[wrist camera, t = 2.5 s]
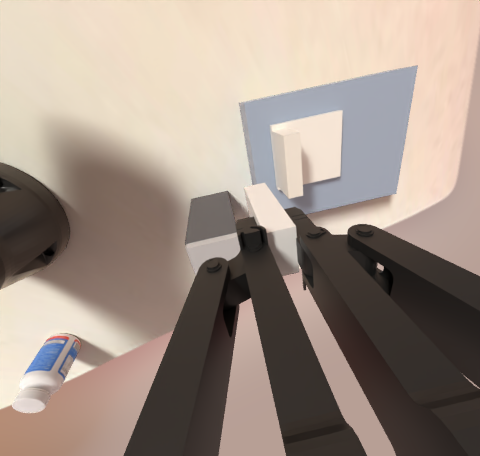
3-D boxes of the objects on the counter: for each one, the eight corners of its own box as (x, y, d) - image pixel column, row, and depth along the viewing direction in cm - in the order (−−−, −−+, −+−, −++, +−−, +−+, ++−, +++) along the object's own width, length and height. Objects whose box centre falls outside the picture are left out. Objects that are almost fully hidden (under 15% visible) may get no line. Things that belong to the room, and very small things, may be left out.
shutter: (276, 188, 27) (289, 203, 23) (269, 125, 24) (282, 129, 20) (336, 174, 27) (360, 187, 23) (338, 110, 24) (366, 111, 20)
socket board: (256, 211, 33) (262, 224, 29) (239, 102, 26) (244, 102, 23) (376, 184, 33) (396, 193, 30) (389, 70, 26) (417, 65, 23)
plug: (199, 224, 33) (196, 280, 22) (191, 199, 31) (184, 248, 20) (233, 216, 33) (246, 269, 22) (227, 190, 31) (238, 235, 20)
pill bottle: (40, 343, 40) (-4, 408, 31) (58, 327, 39) (17, 391, 30) (71, 355, 42) (37, 419, 34) (88, 341, 41) (58, 403, 33)
